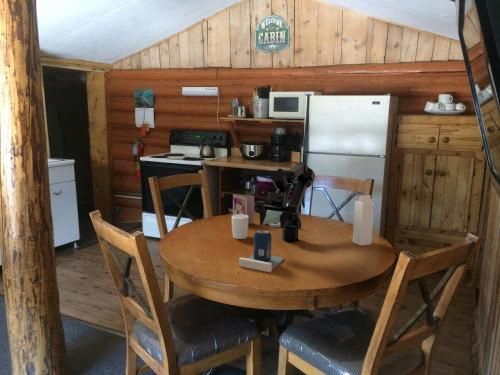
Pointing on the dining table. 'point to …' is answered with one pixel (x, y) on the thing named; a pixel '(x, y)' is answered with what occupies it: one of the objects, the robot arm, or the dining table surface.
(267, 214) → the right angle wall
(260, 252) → the soda can
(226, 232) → the dining table surface
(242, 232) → the white cup
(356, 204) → the milk
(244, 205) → the pink printed box
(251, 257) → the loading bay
